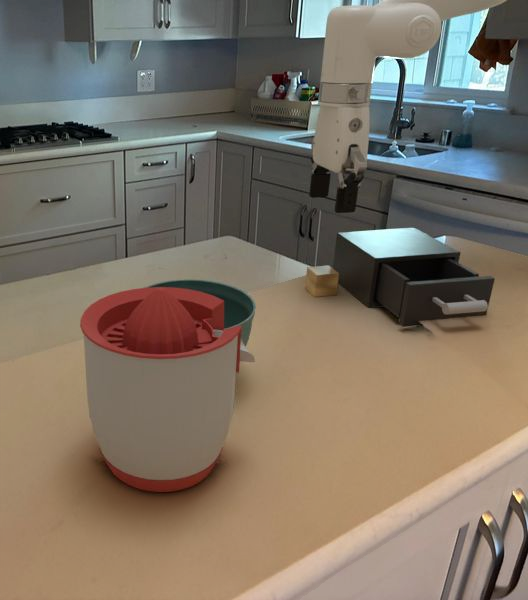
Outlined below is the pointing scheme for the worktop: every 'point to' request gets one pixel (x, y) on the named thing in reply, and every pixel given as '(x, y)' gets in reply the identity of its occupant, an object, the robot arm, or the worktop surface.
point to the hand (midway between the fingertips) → (330, 204)
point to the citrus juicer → (161, 383)
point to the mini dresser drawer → (431, 290)
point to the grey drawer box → (381, 256)
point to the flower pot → (235, 300)
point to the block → (321, 281)
